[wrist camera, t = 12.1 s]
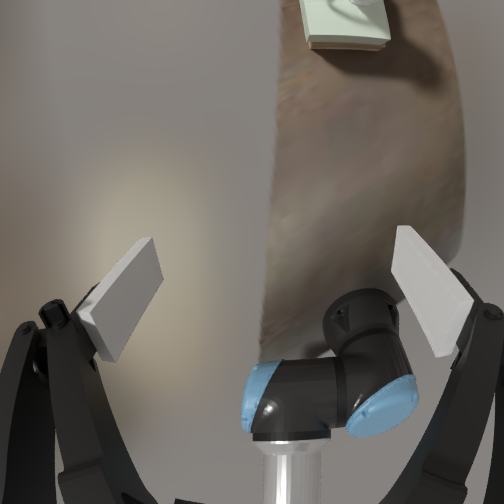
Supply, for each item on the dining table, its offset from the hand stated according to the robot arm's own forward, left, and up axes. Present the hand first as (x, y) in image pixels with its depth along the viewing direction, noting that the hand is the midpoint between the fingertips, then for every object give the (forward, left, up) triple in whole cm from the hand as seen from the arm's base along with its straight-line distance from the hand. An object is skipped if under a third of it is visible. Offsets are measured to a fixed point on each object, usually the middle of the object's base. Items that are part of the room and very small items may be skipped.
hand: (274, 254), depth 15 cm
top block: (+23, -10, -25) cm, 35 cm away
